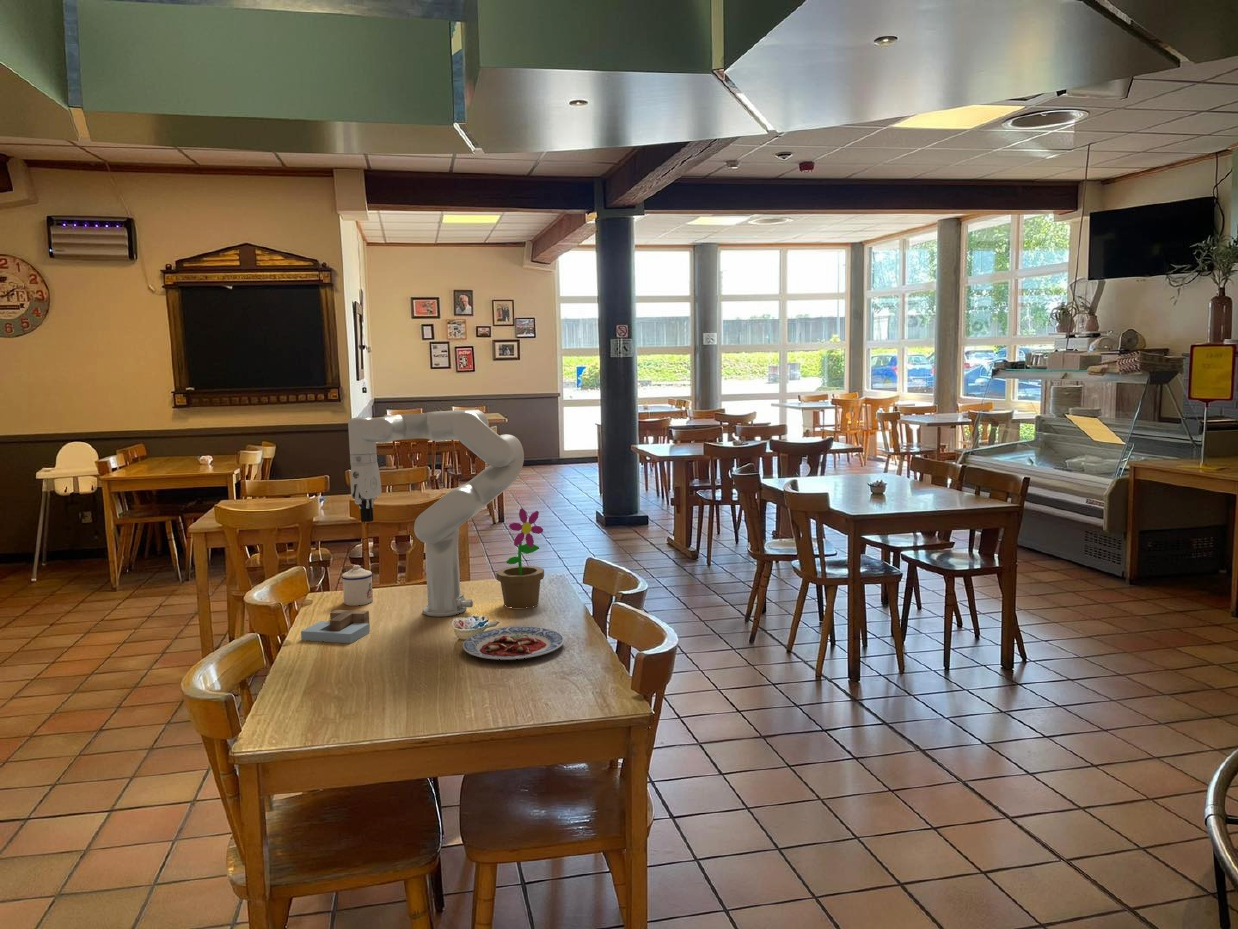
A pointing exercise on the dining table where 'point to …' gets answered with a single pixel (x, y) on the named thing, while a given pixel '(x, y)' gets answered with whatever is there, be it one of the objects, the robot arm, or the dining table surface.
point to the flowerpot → (522, 568)
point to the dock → (335, 632)
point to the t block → (347, 618)
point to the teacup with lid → (357, 586)
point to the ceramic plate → (513, 643)
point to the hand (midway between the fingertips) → (367, 521)
